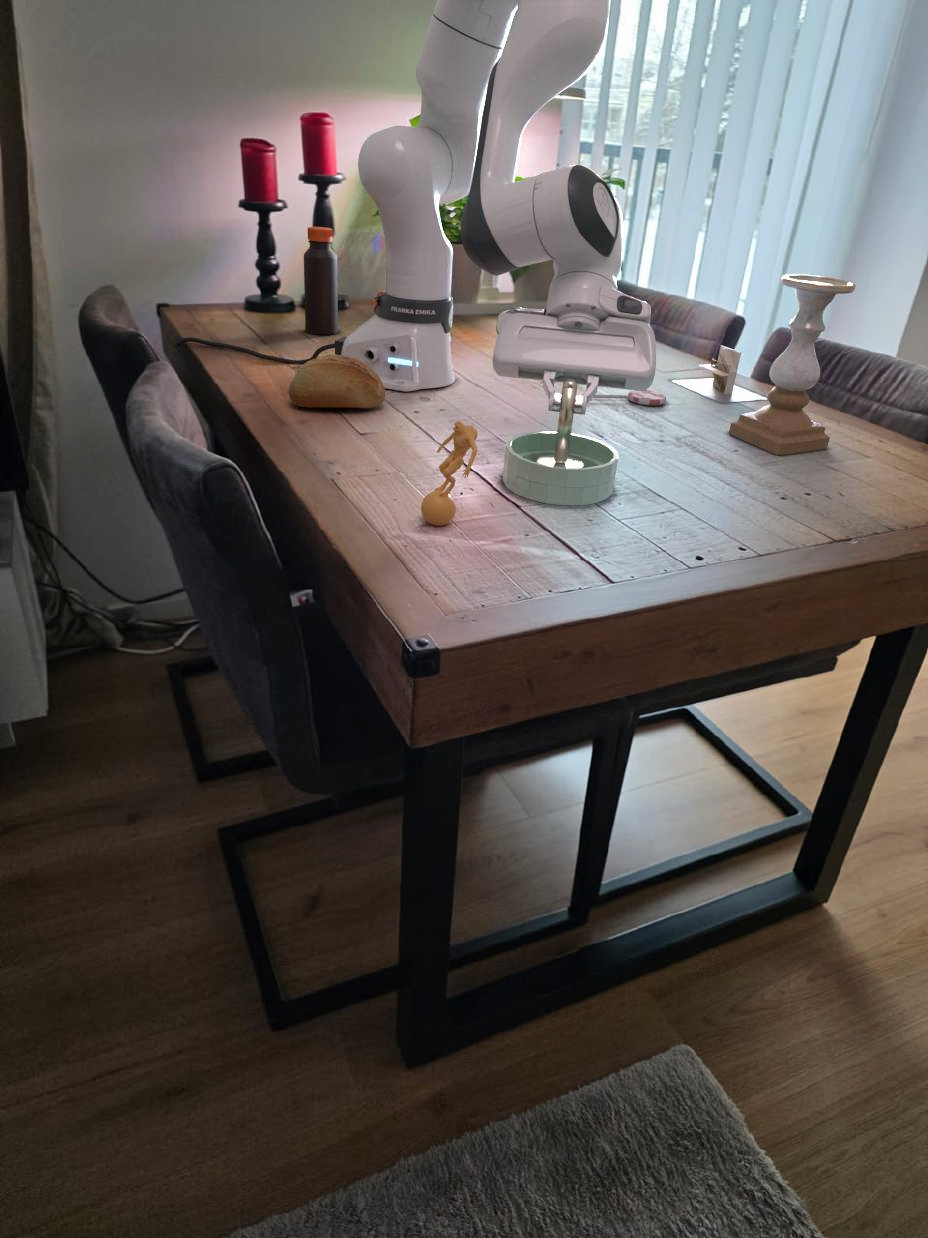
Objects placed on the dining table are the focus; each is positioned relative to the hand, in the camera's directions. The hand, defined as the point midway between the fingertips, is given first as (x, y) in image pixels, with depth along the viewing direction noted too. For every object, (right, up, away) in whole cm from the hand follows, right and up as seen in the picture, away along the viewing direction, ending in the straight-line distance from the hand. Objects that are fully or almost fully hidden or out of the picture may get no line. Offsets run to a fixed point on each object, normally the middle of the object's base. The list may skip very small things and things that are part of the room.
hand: (566, 410), depth 105 cm
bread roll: (-33, +7, +29) cm, 44 cm away
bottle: (-43, +35, +75) cm, 93 cm away
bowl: (-1, -8, +6) cm, 10 cm away
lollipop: (+15, +12, +44) cm, 48 cm away
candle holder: (+37, +2, +29) cm, 47 cm away
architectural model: (+35, +17, +55) cm, 67 cm away
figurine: (-15, -15, -7) cm, 22 cm away
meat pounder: (-1, -8, +6) cm, 10 cm away
